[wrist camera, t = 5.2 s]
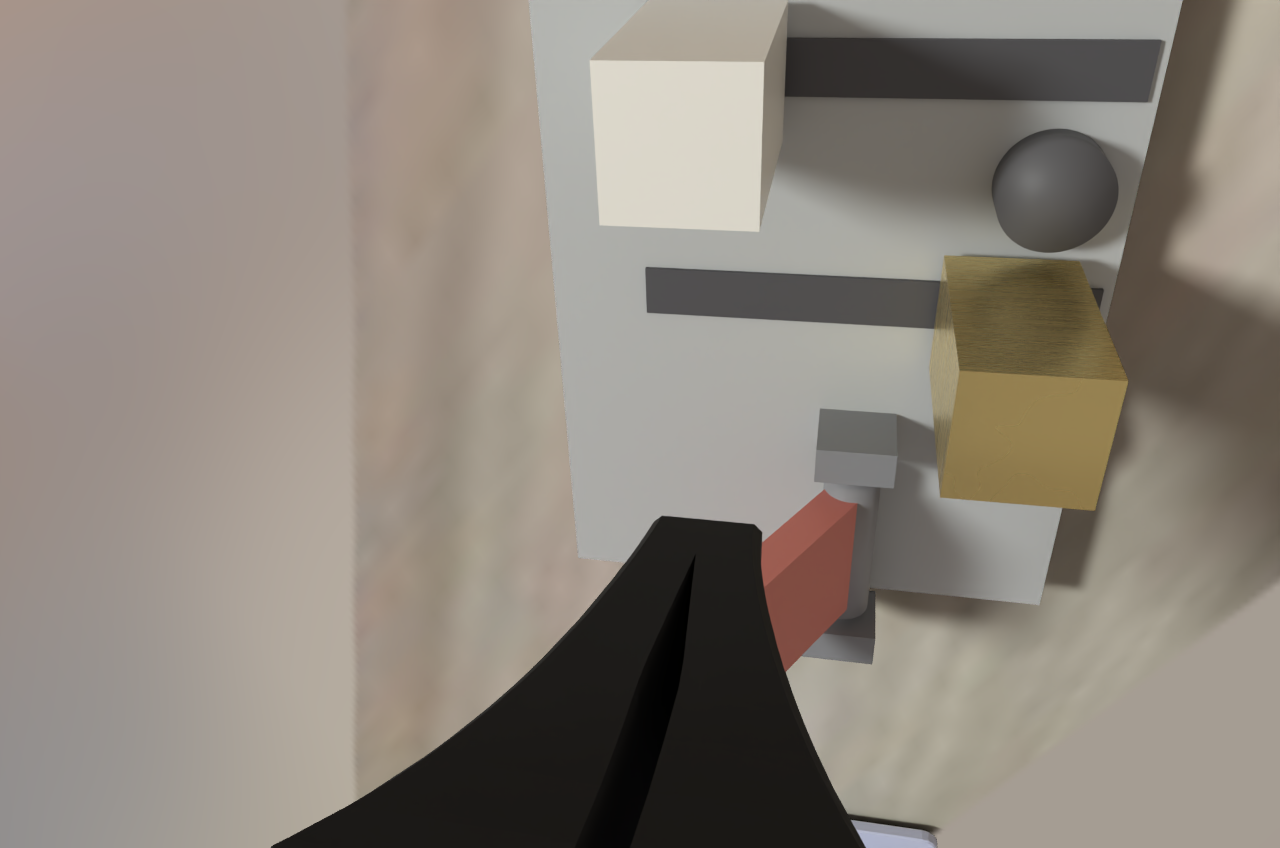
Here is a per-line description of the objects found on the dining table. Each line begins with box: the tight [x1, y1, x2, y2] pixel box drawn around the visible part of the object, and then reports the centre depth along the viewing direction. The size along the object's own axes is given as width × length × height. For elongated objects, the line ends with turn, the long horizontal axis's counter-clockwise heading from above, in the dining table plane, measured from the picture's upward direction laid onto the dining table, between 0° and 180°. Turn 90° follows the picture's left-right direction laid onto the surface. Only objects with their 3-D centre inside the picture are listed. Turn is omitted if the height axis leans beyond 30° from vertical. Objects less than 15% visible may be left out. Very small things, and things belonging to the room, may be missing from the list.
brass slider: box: [929, 255, 1128, 511], centre depth 18 cm, size 2×2×4 cm
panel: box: [529, 0, 1183, 664], centre depth 21 cm, size 15×11×3 cm
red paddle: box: [761, 483, 881, 672], centre depth 21 cm, size 4×1×7 cm, turn 3°
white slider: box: [590, 0, 788, 232], centre depth 16 cm, size 2×2×4 cm
